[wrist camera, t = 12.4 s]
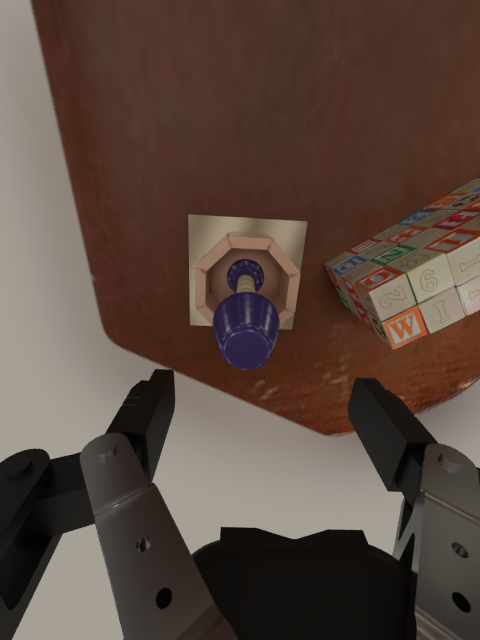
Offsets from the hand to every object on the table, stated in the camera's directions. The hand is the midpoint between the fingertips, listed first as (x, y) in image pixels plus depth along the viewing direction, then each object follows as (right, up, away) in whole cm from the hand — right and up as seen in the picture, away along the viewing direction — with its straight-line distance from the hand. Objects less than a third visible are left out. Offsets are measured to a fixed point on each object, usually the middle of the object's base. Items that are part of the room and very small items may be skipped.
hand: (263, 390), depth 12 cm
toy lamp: (-1, +8, +19) cm, 21 cm away
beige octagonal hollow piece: (0, +8, +20) cm, 21 cm away
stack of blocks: (+20, +13, +20) cm, 31 cm away
